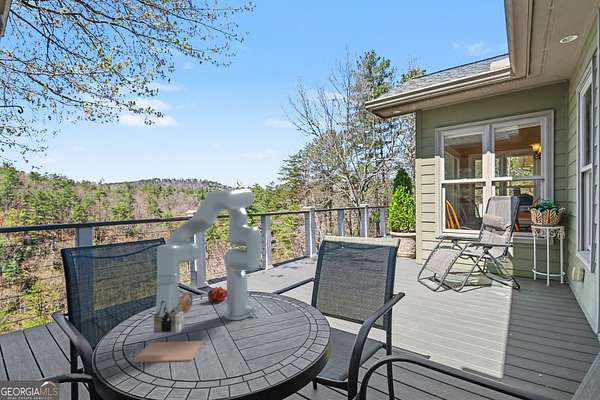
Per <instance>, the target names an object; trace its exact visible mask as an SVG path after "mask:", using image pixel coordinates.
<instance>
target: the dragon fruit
mask: <svg viewBox="0 0 600 400" xmlns="http://www.w3.org/2000/svg"><path fill="white" fill-rule="evenodd" d="M222 287H223V286H219V287H218V286H216V287H211V289H209V291H208V292H207V299H208V300H209V301H212V302H213V303H215V302H217V303H220V302H221V301H225V300H226V298H227V289H225V288H222Z"/></svg>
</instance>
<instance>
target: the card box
mask: <svg viewBox="0 0 600 400" xmlns="http://www.w3.org/2000/svg"><path fill="white" fill-rule="evenodd" d="M159 315H160V312H159V313H157V312H156V313H155V315H154V316H153V333H154V334H163V333H166V334H169V333H181V332H182V330H183V329H184V313H183V312H170V320H171V331H170V332H162V325H161V318H160V317H159ZM165 315H167V316H168V314H165Z"/></svg>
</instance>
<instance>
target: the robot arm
mask: <svg viewBox="0 0 600 400" xmlns="http://www.w3.org/2000/svg"><path fill="white" fill-rule="evenodd" d="M254 200H255V196H254V192H253V191H252V190H251V189H249V188H244V187H243V188H225V189H223V190H212V191H210V192H208V193H207V194H206V196H205V197H204V198H203V201H202V202H201V204H200V205H199V207H198V208H197V210H195V211H196V212H195V213H194V214H193V216H192V217H191V218H189V219H188V220H186V221H185V222H183V223H182V224H181V225H179V226H178V227H177V228H176V229H175V230H174V231H173V232H172V234H171V235H170V237H169V239H168V240H167V242H166V243H164V244H160V245H159V246H158V247H157V249H156V261H157V262H156V265H157V266H156V270H157V271H156V273H157V276H156V279H157V283H156V284H157V289H156V301H155V302H156V303H155V312H156V314H157V313H159V312H160V315H159V317H160V318H161V325H162V332H170V331H171V320H170V312H176V306H177V305H178V303H179V296H180V295H179V292H180V290H179V283H180V282H181V281H180V280H181V279H180V277H181V273H180V264H181V263H189V262H190V263H191V262H195V261H196V260H198V258H199V257H200V256H201V247H200V245H199V244H197V243H196V242H193V241H188V240H189V239H191V238H192V237H194V236H195V235H197V234H199V233H200V234H201V233H203V232H205V231H208V230H209V229H211V228H212V227H213V225H214V224H215V221H216V220H217V218H218V217H219V215H220V213H221V211H227V213H228V217H229V218H228V219H229V221H228V222H229V223H228V242H229V244H231V245H232V246H237V247H246V249H245V248H231V249H228V250H227V251H226V252H225V253H224V258H223V262H224V267H225V268H224V269H225V272H226V273H225V274H226V290H227V296H226V311H225V312H224V313H223V317H224V318H225V319H226V320H228V321H229V320H230V321H241V320H245V319H247V318H249V317H250V316H251V315H252V313H257V312H258V307H256V306H250V305H249V303H248V276H247V272H246V271H249V272H254V271H257V269H259V268H260V264H261V259H262V258H261V257H262V233H261V231H260V229H259V228H258V227H257V226H253V225H248V212H247V211H246V209H245V208H249V207H251V205H253V203H254ZM165 314H168V316H167V315H165Z"/></svg>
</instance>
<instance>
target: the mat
mask: <svg viewBox="0 0 600 400" xmlns="http://www.w3.org/2000/svg"><path fill="white" fill-rule="evenodd" d="M203 342H204V341H203V340H187V341H150V342H149V343H148V344H147V345H146V346H145V348H143V349H142V351H141V352H140V353H139V354H138V355H137V356H135V358H134V359H133V360H132V363H160V362H161V363H162V362H163V363H164V362H192V361H193V359H194V358H195V356H196V355H197V353H198V351H199V349H200V348H201V346H202V344H204V343H203Z"/></svg>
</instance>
